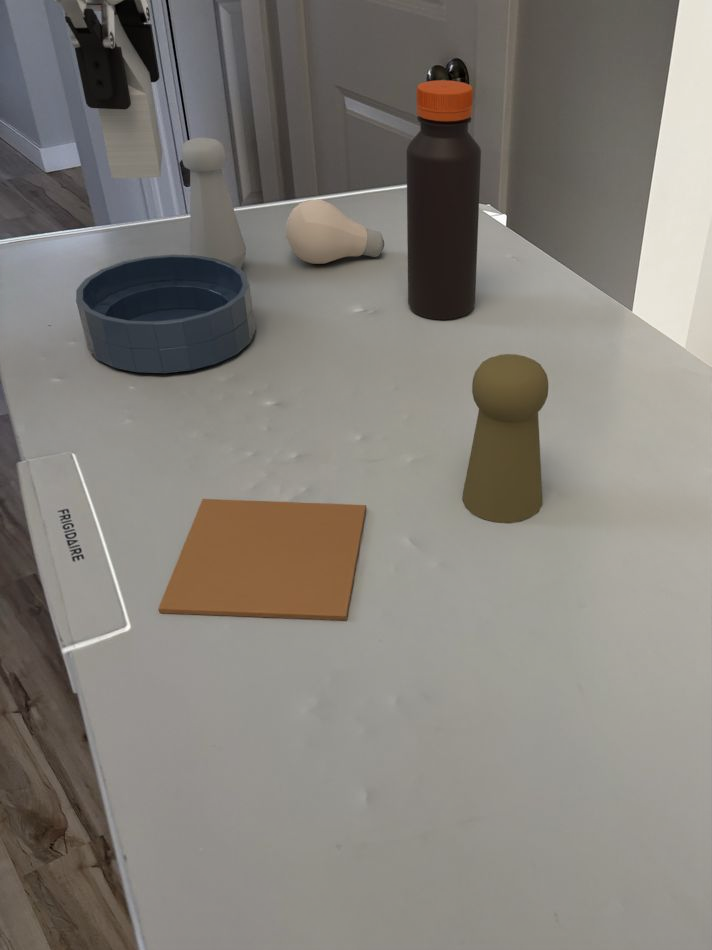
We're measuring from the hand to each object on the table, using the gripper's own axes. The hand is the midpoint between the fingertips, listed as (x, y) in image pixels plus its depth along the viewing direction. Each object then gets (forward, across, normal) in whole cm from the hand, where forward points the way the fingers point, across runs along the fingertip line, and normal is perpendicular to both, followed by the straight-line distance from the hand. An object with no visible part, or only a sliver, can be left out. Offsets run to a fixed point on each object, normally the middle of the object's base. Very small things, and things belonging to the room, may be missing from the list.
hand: (125, 92), depth 72 cm
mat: (+21, +30, +14) cm, 40 cm away
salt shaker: (+22, -18, +1) cm, 28 cm away
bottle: (+21, -10, +25) cm, 34 cm away
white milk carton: (+6, 0, 0) cm, 6 cm away
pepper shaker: (+21, +23, +30) cm, 44 cm away
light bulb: (+21, -22, +13) cm, 33 cm away
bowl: (+21, -2, 0) cm, 21 cm away
